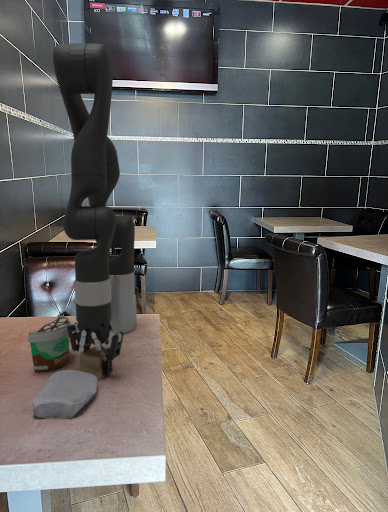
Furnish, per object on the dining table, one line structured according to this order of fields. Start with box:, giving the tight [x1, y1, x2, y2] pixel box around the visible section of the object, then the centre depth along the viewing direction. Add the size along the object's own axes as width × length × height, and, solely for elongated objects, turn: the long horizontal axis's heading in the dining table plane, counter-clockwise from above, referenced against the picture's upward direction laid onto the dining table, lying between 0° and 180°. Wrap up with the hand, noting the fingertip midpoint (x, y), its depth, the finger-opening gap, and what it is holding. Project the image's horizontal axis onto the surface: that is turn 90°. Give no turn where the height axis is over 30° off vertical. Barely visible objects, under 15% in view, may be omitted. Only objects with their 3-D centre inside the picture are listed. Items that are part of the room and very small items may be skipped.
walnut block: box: [78, 345, 113, 382], centre depth 81 cm, size 5×5×5 cm
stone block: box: [32, 369, 99, 419], centre depth 71 cm, size 12×5×10 cm
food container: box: [27, 314, 72, 374], centre depth 85 cm, size 12×6×10 cm, turn 168°
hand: (96, 371), depth 82 cm, fingers closed on walnut block, 5 cm apart
